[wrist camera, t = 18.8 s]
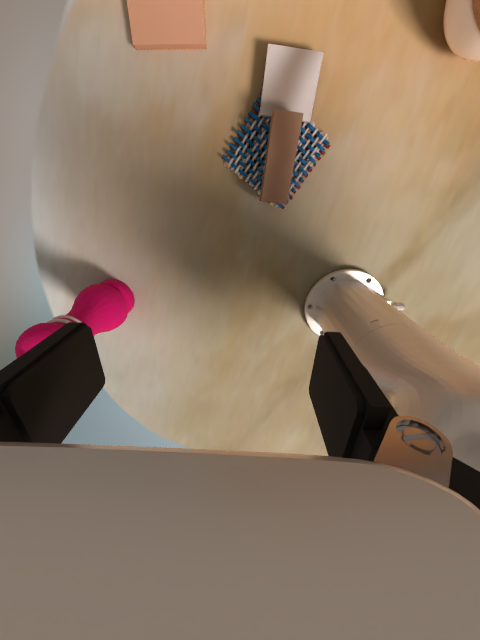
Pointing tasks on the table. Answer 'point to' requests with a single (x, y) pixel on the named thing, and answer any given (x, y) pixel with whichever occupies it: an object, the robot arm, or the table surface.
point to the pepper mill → (85, 313)
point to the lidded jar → (463, 28)
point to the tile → (167, 24)
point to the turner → (286, 113)
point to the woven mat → (261, 144)
